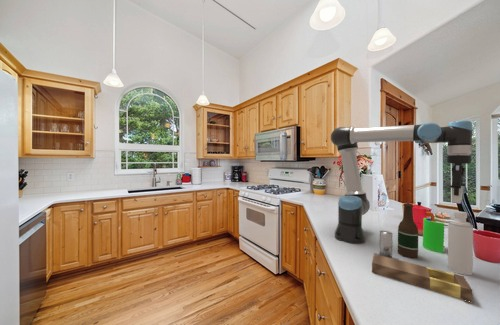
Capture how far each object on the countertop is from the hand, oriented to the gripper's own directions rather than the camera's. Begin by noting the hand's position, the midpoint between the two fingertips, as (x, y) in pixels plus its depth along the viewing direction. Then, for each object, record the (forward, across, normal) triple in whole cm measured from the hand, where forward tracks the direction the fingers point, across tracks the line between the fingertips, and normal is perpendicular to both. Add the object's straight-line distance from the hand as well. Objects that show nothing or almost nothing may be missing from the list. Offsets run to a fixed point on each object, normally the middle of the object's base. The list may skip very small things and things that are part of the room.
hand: (457, 201), depth 88 cm
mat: (+26, -30, +19) cm, 44 cm away
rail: (+26, -38, +8) cm, 47 cm away
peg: (+26, -30, +19) cm, 44 cm away
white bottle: (+26, -16, -2) cm, 30 cm away
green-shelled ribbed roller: (+26, +3, +8) cm, 27 cm away
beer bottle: (+26, -17, +14) cm, 34 cm away
